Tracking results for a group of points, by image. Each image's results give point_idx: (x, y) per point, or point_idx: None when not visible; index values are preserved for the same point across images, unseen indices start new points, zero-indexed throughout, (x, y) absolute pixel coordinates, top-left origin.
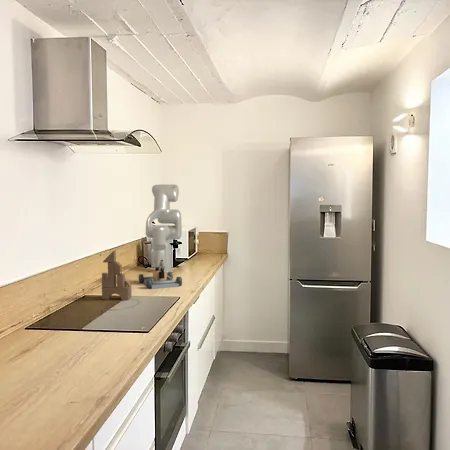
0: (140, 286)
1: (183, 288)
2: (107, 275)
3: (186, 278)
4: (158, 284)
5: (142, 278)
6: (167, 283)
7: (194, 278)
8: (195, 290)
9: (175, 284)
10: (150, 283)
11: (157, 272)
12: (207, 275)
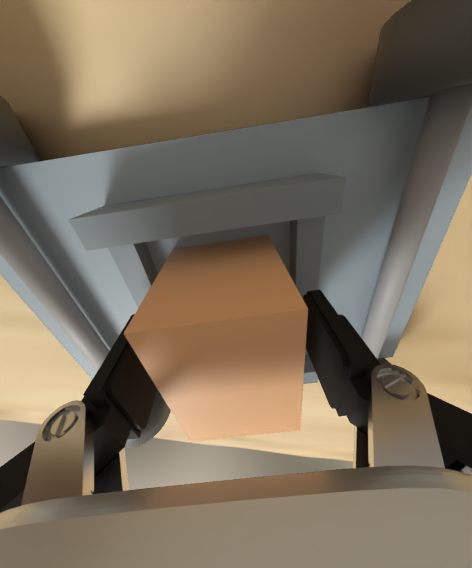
0: (108, 6)
1: (48, 386)
2: None
3: (335, 413)
4: (59, 269)
5: (394, 66)
6: (116, 338)
7: (314, 432)
8: (2, 418)
9: (90, 374)
10: None
11: (146, 362)
12: (348, 460)
